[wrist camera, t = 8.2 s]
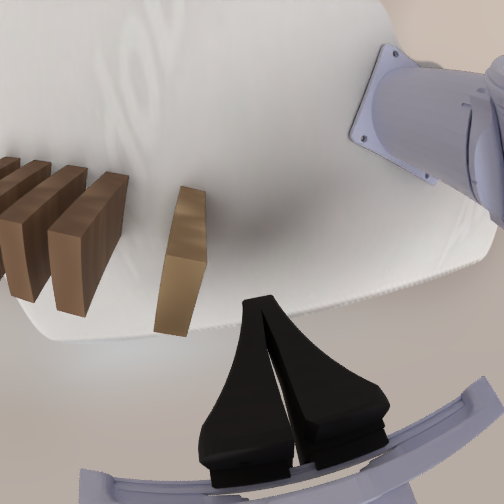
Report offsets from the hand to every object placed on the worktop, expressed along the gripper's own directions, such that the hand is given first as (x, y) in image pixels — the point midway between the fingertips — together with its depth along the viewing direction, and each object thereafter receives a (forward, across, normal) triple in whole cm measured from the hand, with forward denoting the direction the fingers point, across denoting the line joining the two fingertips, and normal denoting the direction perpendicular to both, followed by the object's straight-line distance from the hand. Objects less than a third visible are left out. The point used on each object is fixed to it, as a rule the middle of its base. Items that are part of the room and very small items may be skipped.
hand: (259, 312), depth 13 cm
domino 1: (+8, +3, -2) cm, 9 cm away
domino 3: (+8, +11, -5) cm, 14 cm away
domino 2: (+8, +8, -4) cm, 12 cm away
